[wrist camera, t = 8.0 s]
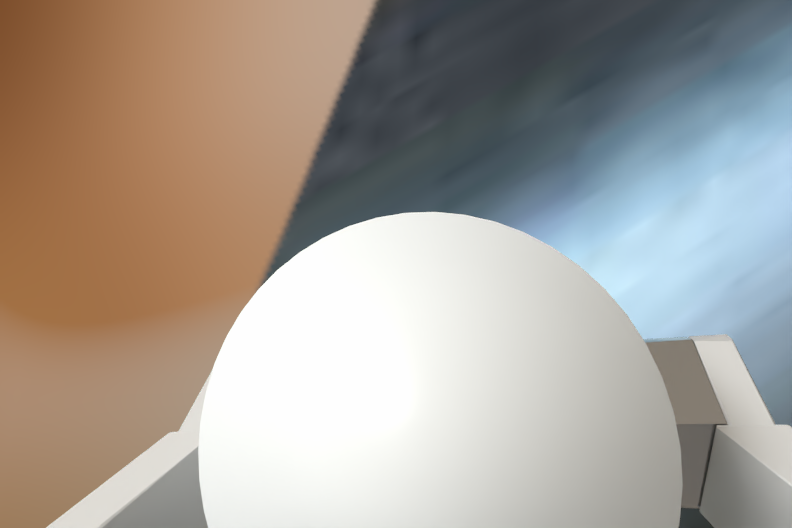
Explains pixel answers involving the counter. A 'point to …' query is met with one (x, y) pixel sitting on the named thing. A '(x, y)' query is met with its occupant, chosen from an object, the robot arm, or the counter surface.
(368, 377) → the white rounded block
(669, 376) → the robot arm
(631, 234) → the counter surface
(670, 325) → the counter surface
